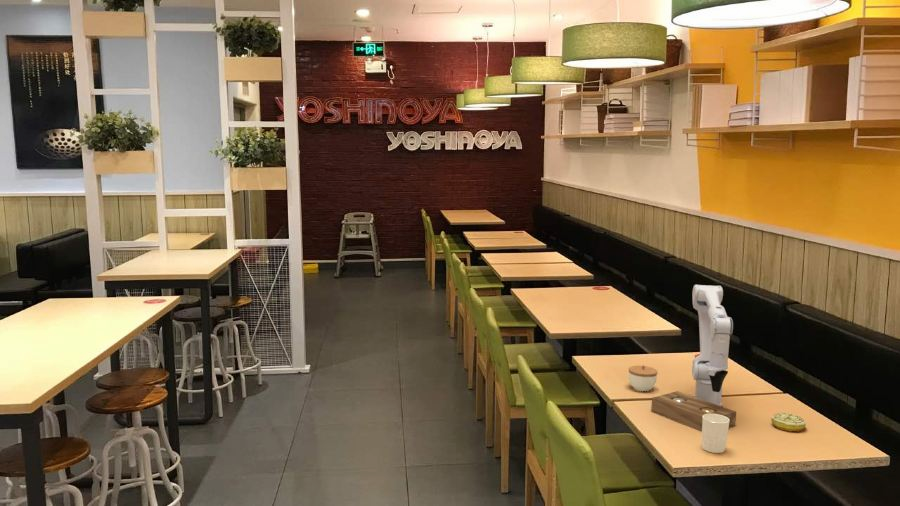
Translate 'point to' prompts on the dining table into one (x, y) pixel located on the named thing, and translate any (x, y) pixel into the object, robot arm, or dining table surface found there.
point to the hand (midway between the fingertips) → (716, 391)
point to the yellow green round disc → (788, 422)
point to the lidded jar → (642, 377)
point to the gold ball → (708, 410)
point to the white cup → (714, 432)
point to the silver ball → (679, 399)
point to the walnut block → (688, 409)
